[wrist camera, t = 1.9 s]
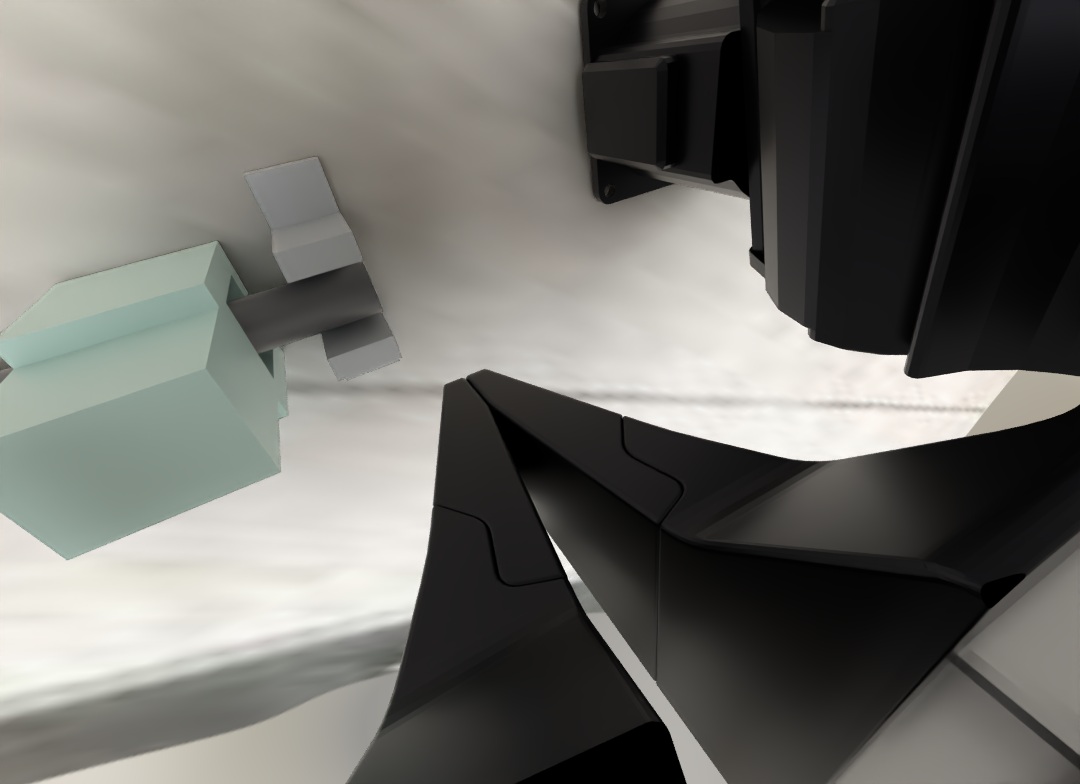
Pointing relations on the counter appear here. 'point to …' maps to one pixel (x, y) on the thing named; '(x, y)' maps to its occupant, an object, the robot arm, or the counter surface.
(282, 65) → the counter surface
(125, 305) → the mint stepped block
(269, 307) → the grey angular piece
